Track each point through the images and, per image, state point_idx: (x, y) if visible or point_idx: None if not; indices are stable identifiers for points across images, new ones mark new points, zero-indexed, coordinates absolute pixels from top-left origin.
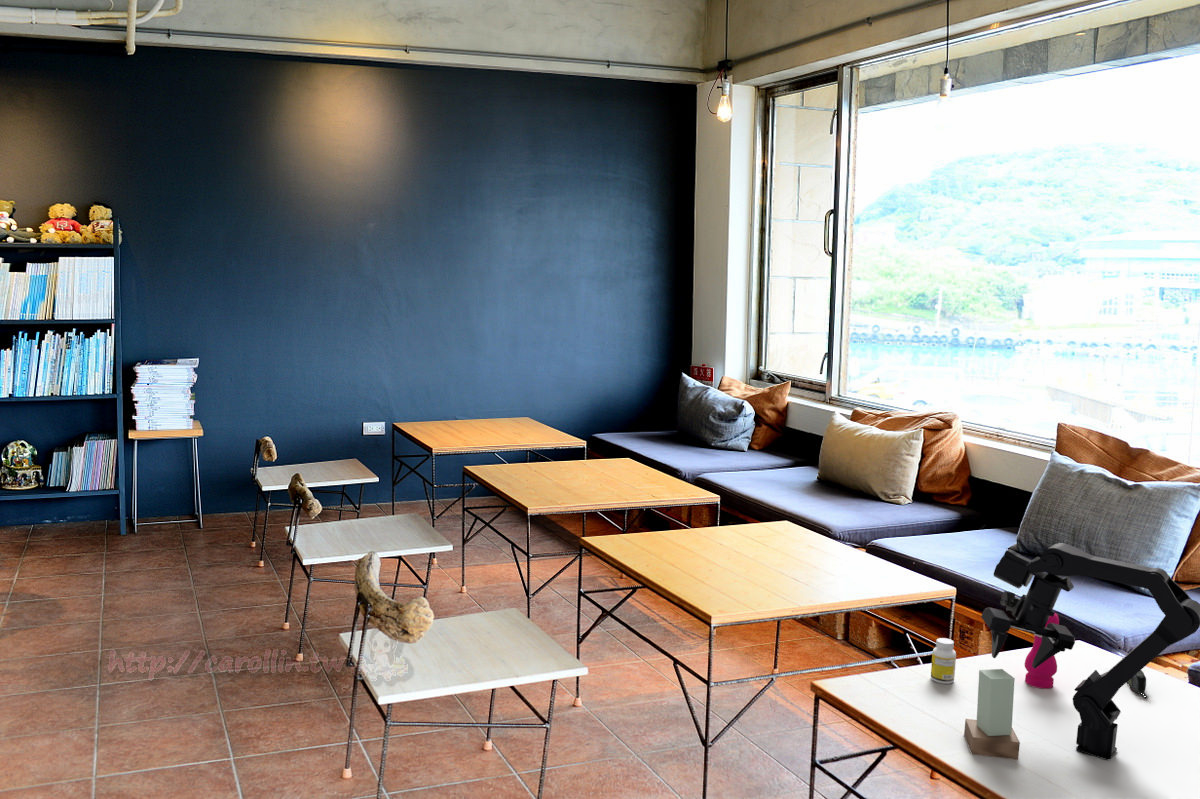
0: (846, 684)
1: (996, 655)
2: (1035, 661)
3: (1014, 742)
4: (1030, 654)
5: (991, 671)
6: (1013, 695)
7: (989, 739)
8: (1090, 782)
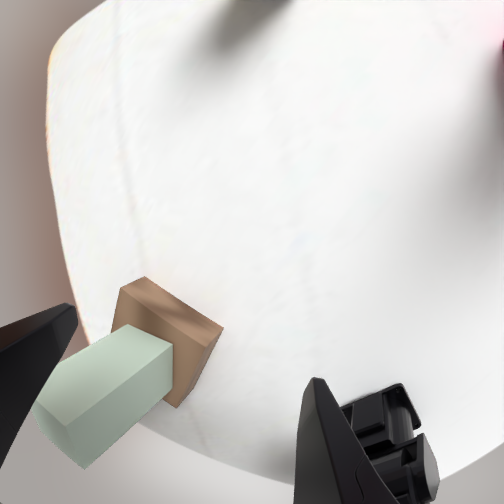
0: (78, 36)
1: (64, 344)
2: (306, 419)
3: (168, 401)
4: None
5: (41, 412)
6: (114, 442)
7: None
8: (264, 466)
